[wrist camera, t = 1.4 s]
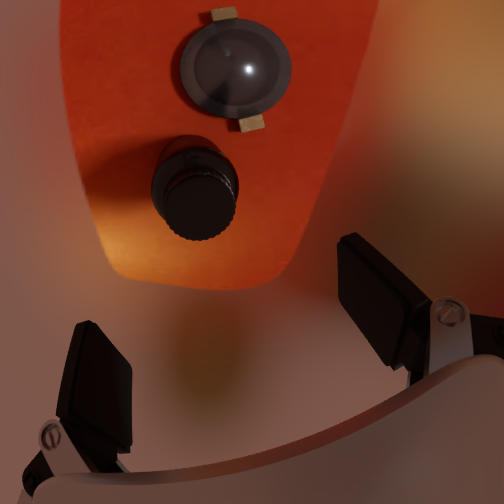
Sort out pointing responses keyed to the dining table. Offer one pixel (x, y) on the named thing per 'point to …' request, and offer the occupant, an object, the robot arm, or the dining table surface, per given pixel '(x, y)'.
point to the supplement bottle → (195, 188)
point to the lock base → (235, 68)
